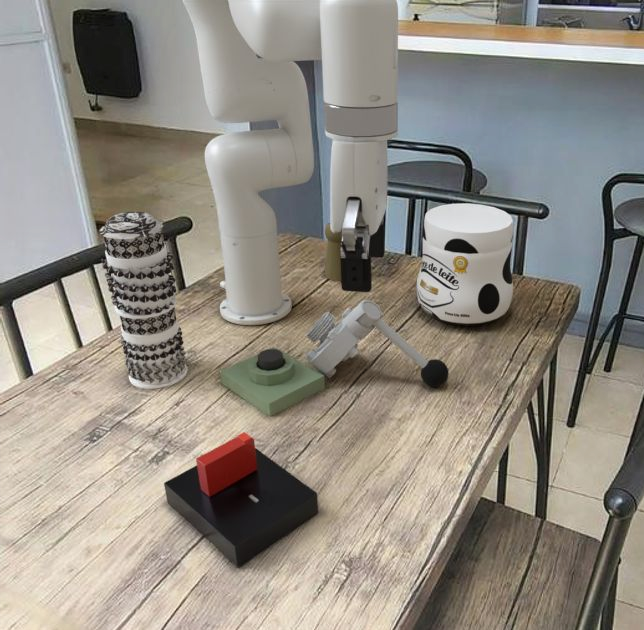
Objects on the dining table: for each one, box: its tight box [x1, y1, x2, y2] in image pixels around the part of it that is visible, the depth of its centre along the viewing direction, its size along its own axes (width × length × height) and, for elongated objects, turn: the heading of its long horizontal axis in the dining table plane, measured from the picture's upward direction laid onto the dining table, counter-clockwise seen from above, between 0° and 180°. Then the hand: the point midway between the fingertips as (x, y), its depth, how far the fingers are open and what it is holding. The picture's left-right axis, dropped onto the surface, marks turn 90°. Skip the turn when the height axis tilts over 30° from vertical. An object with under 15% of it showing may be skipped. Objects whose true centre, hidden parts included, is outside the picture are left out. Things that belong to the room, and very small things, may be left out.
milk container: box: [415, 202, 514, 327], centre depth 120 cm, size 17×17×18 cm
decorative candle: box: [98, 211, 189, 390], centre depth 98 cm, size 9×9×25 cm
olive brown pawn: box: [324, 222, 342, 282], centre depth 135 cm, size 6×6×11 cm
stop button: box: [257, 348, 284, 371], centre depth 99 cm, size 4×4×2 cm
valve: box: [304, 299, 450, 388], centre depth 103 cm, size 10×20×15 cm
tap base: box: [163, 447, 319, 568], centre depth 78 cm, size 14×11×3 cm
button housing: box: [219, 346, 326, 417], centre depth 100 cm, size 12×10×4 cm
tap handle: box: [195, 431, 257, 497], centre depth 78 cm, size 6×2×5 cm, turn 138°
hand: (364, 272), depth 78 cm, fingers open, 9 cm apart
